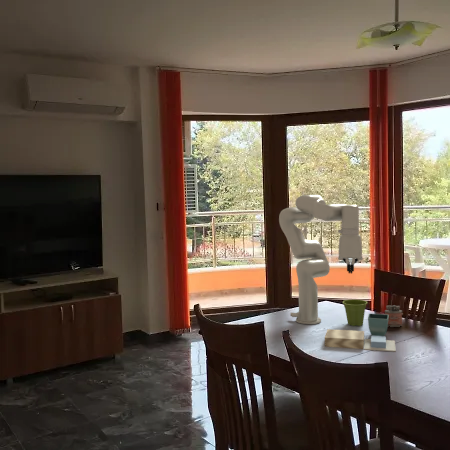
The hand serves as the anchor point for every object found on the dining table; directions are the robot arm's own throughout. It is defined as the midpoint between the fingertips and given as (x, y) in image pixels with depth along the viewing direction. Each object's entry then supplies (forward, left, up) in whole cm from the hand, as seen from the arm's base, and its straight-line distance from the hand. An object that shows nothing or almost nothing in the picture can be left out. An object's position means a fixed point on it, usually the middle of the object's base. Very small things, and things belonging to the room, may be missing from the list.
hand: (350, 272), depth 229 cm
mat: (+13, -11, -29) cm, 34 cm away
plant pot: (+1, +21, -29) cm, 36 cm away
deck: (-2, -11, -29) cm, 31 cm away
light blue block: (+12, -11, -27) cm, 32 cm away
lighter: (+19, +22, -29) cm, 41 cm away
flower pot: (+12, +4, -29) cm, 32 cm away
